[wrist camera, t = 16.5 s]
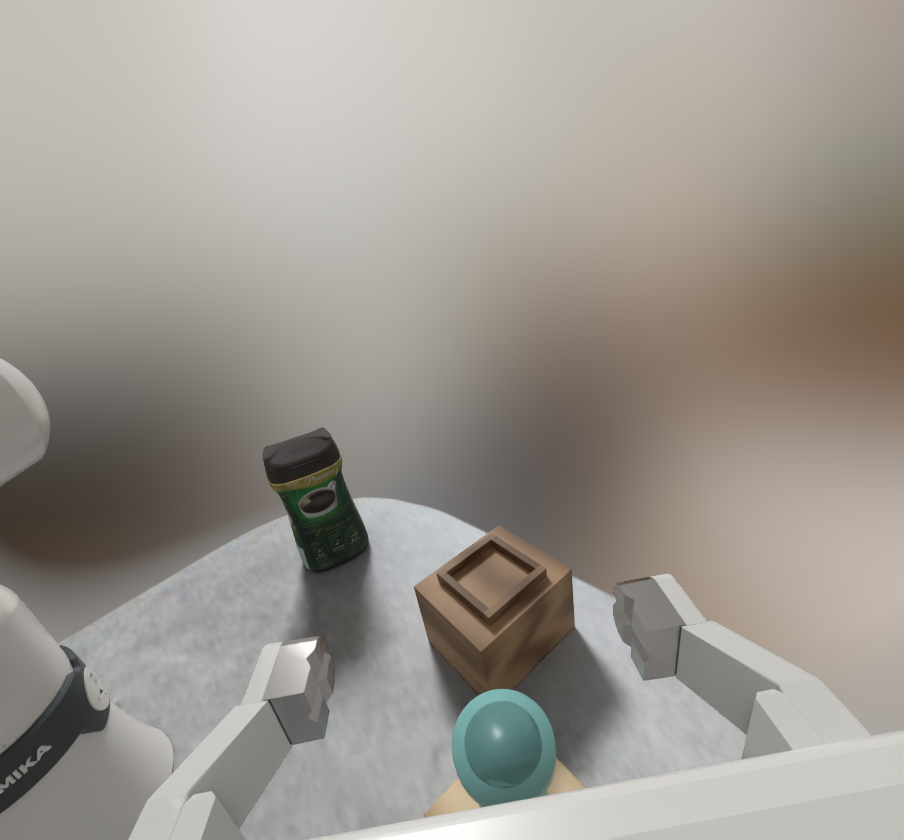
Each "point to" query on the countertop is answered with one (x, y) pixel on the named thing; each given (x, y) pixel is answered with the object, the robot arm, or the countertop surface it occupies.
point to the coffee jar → (316, 499)
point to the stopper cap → (503, 748)
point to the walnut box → (497, 609)
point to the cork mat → (461, 801)
